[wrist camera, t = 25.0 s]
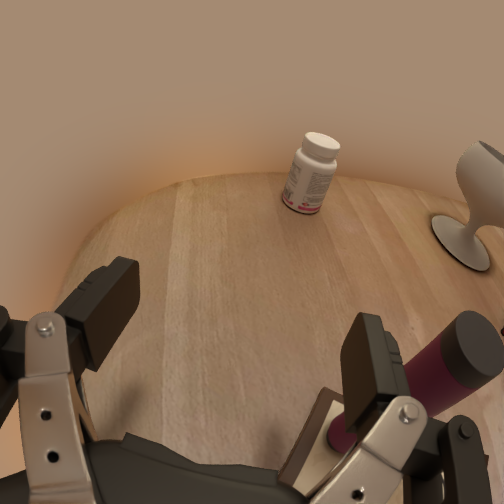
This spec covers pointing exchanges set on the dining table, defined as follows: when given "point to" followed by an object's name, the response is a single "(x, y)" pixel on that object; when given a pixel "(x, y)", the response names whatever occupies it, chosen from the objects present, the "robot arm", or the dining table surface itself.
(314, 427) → the pad
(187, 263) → the dining table surface
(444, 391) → the marker
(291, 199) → the pill bottle
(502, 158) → the chalice
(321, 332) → the dining table surface
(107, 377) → the dining table surface
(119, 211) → the dining table surface
